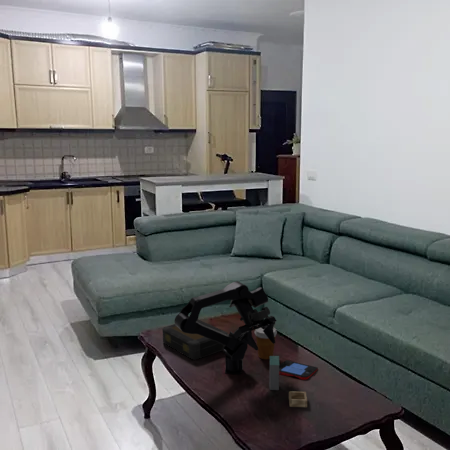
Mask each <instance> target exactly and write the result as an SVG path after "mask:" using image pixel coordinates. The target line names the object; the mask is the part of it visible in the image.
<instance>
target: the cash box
mask: <svg viewBox="0 0 450 450" xmlns="http://www.w3.org/2000/svg"><path fill="white" fill-rule="evenodd" d="M197 322H198V323H200V324H202V325H205V326H207V327H210V328H212V329H214V330H217V331H219V332H221V333H224V334H229V333H228V332H227V331H225V330H223V329H220V328H218V327H216V326H214V325H212V324H210V323H207V322H205V321H203V320H201V319H199V318H198V320H197ZM161 329H162V343H163V344H164V343H165V344H167V345H169V346H170V347H169V346H168V347H169V348H171V347H172V348H174V349H176V350H177V351H176V350H175V351H176V352H178V351H179V352H181V353H183V354H184V355H183V354H182V355H183V356H185V355H186V356H187V358H188V357H189V358H188V359H190V358H191V359H190V360H192V359H194V360H193V361H197V360H200V359H201V358H202V357H203V358H205V357H208V356H211V355H213V354H217V353H219V352H221V351H222V352H223V350H222V349H223V347H224V346H225V345H223V344H221V343H218V342H216V341H213V340H211V339H209V338H206V337H204V336H201V335H199V334H189V333H184V332H182V331H181V330H180V329H179V328H178V327H177V326H176V325H175V323H174V324H171V325H167V326H165V327H163V328H161ZM165 344H164V345H165ZM167 345H166V346H167ZM172 348H171V349H172ZM174 349H173V350H174ZM179 352H178V353H179ZM181 353H180V354H181ZM186 356H185V357H186ZM199 358H200V359H199ZM203 358H202V359H203ZM196 359H197V360H196Z"/></svg>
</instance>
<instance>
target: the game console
mask: <svg viewBox="0 0 450 450" xmlns="http://www.w3.org/2000/svg"><path fill="white" fill-rule="evenodd" d="M318 368H319V367H317V366H312V365H309V364H304V363H300V362H297V361H296V362H295V361H292V360H287V359H285V360H284V361H283V362H280V363H279V376H288V377H294V378H295V377H296V378H298V379H299V380H303V381H304V380H305V381H306V380H308V379H309V378H311V377H312V376H313V375H314V374H315V373H316V372H317V371H318V370H319V369H318Z"/></svg>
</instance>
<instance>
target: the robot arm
mask: <svg viewBox="0 0 450 450" xmlns="http://www.w3.org/2000/svg"><path fill="white" fill-rule="evenodd" d="M225 301H230V304H229V307H228V308H233V307H235V308H236V311H237V312H238V314H239V316H240V318H239V320H240V322H243V323H244V325H241V326H239V327H238V328H237V329H236V330H235V331H231V330H230V331H229V333H228V334H224V333H221V332H219V331H217V330H214V329H212V328H210V327H207V326H205V325H202V324H200V323H198V322H197V320H198V319H199V316H200V314H201V311H202V309H203V308H207V307H210V306H212V305H216V304H219V303H222V302H223V303H224V302H225ZM268 303H269V297H268V295H267V293H266V291H265V290H264V288H263V287H261V286H259V287H258V288H256V289H253V290H252V291H251V290H249V287H248V286H247V285H246V284H244V283H242V282H240V281H238V280H236V281H233V282H231V283H229V284H227V285H226V286H225V287H223V288H222V289H219V290H216V291H213V292H212V291H211V292H209V293H205V294H202V295H199V296H194V297H191V298H190V300H189V302H188V303H187V304H186V305H184V306H183V307H182V309H180V311H179V313H178V314H177V315H176V316H175V318H174V324H175V325H176V326H177V327H178V328H179V329H180V330H181V331H182V332H184V333H189V334H199V335H201V336H204V337H206V338H209V339H211V340H213V341H216V342H218V343H221V344H223V345H225V346H224V347H223V349H222V352H223V353H224V355H225V356H224V358H225V360H224V361H225V362H224V363H225V368H224V369H225V370H224V374H227V375H228V374H232V375H233V374H235V375H241V374H242V371H243V370H244V358H245V354H246V351H247V349H248V346H250V348H252V349H253V350H255V351H257V352H258V347H257V342H256V340H255V339H254V337H253V331H255V330H256V329H258V328H262V329H264V330H263V332H264V333H265V334H266V336H267V337H268V338H269V340H270V341H271V342H272V343H273V344H276V338H275V337H274V332H273V327H274V328H275V325H276V322H277V319H276V317H275V316H274V315H270V314H271V311H270V309H269V307H268V306H264V307H261V310H260V311H258V309H256V308H258V307H260V306H263V305H264V304H268ZM223 353H222V354H223Z"/></svg>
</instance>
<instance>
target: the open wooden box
mask: <svg viewBox="0 0 450 450" xmlns="http://www.w3.org/2000/svg"><path fill="white" fill-rule="evenodd" d="M288 404H289V408H308V397H307V391H295V390H294V391H293V390H292V391H291V390H290V391H288Z"/></svg>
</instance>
